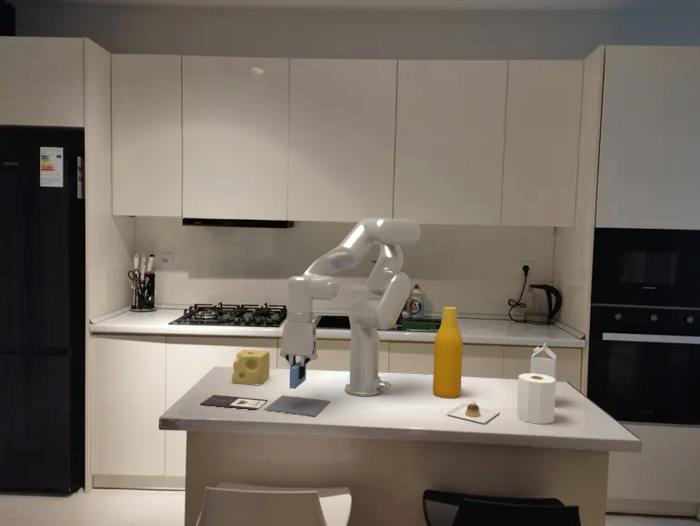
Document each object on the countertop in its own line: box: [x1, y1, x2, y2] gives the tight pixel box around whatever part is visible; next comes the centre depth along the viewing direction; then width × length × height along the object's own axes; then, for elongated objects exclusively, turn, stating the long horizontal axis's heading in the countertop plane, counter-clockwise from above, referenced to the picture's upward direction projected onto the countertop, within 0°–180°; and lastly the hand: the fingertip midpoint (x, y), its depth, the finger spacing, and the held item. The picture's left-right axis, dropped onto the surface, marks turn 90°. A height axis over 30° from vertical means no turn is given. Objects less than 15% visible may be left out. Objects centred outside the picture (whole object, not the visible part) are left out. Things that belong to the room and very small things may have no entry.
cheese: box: [231, 349, 271, 386], centre depth 187 cm, size 10×11×10 cm
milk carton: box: [529, 341, 557, 380], centre depth 171 cm, size 7×7×19 cm
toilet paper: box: [516, 372, 557, 425], centre depth 156 cm, size 10×10×12 cm
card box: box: [289, 360, 307, 390], centre depth 161 cm, size 9×2×6 cm, turn 165°
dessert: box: [445, 400, 500, 425], centre depth 158 cm, size 12×12×5 cm
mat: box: [263, 394, 331, 418], centre depth 161 cm, size 16×14×1 cm
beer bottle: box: [432, 306, 464, 399], centre depth 176 cm, size 9×9×29 cm
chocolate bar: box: [199, 394, 269, 411], centre depth 163 cm, size 9×1×18 cm
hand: (297, 377), depth 161 cm, fingers closed on card box, 1 cm apart
